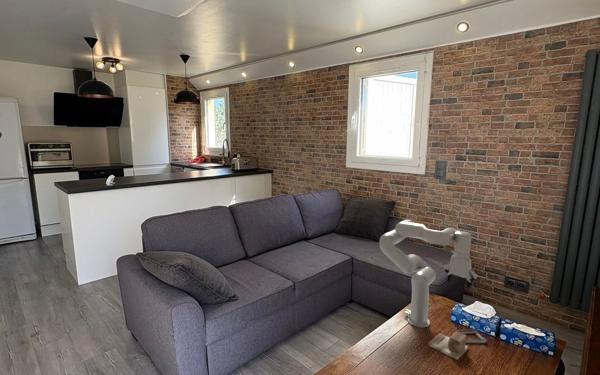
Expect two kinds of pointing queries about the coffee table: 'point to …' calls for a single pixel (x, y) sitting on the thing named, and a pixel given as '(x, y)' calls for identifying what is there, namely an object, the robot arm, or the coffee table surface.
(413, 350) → the coffee table surface
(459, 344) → the walnut sanding block
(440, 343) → the pine board
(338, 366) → the coffee table surface
